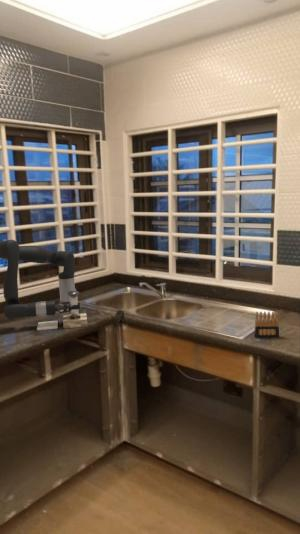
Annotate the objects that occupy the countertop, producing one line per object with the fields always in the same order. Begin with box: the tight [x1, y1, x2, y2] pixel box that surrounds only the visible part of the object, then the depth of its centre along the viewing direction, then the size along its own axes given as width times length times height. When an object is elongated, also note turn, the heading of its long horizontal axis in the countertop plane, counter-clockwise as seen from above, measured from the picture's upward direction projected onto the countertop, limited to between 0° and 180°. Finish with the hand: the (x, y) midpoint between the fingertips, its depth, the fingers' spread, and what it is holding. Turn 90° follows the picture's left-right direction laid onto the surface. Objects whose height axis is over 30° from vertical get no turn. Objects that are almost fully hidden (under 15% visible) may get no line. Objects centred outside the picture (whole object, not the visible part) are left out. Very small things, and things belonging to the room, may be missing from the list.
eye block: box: [62, 312, 89, 329], centre depth 214 cm, size 12×12×4 cm
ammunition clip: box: [253, 311, 280, 339], centre depth 184 cm, size 11×2×12 cm, turn 86°
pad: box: [36, 320, 59, 331], centre depth 212 cm, size 10×10×1 cm
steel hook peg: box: [67, 290, 80, 319], centre depth 213 cm, size 6×6×17 cm
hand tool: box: [112, 309, 125, 328], centre depth 214 cm, size 19×4×5 cm, turn 172°
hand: (79, 305), depth 213 cm, fingers closed on steel hook peg, 4 cm apart
